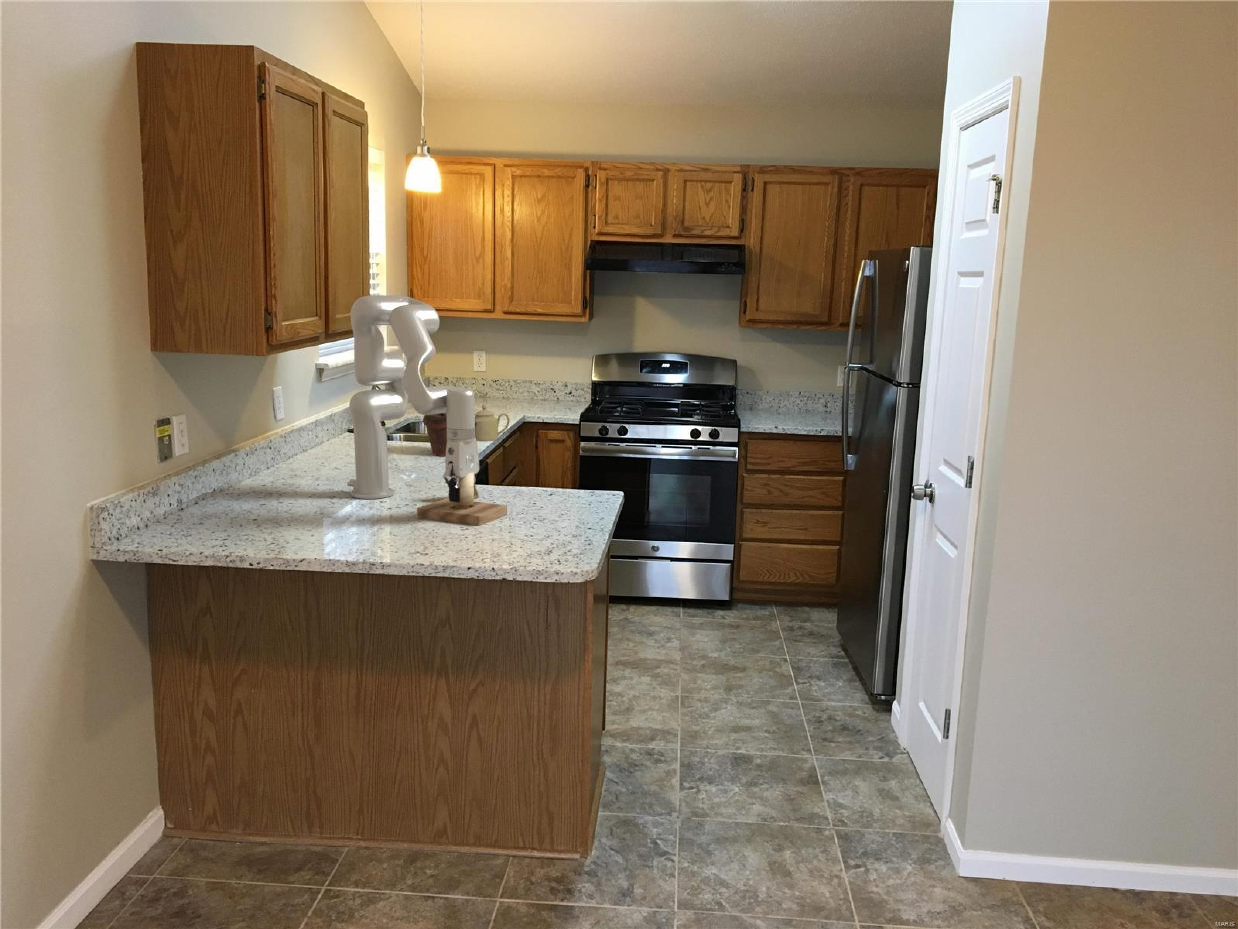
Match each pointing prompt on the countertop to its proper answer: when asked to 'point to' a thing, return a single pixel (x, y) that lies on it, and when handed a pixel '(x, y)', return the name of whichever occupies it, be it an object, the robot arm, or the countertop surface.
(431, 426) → the brown tapered pot
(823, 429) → the countertop surface
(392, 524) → the countertop surface
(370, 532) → the countertop surface
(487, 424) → the sugar bowl
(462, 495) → the peg
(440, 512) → the board
